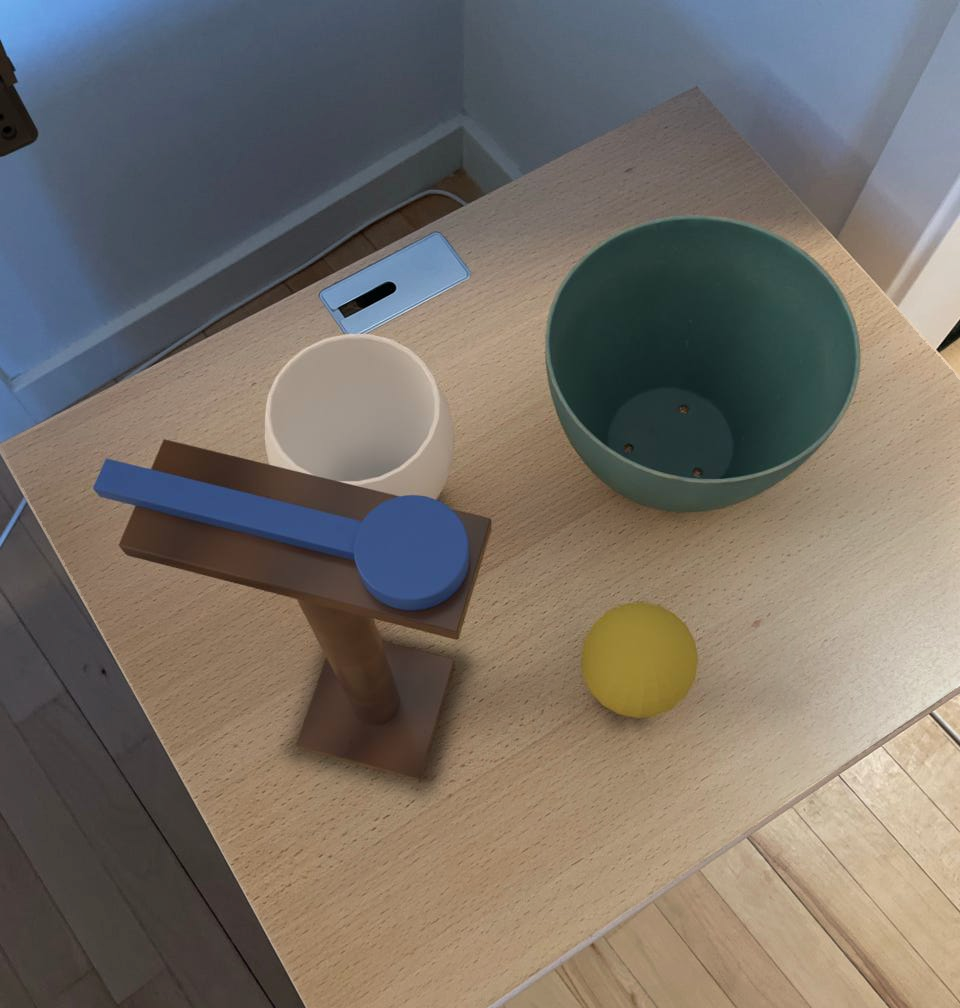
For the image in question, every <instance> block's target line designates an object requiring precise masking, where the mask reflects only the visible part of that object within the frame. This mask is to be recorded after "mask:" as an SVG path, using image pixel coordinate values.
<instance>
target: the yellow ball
mask: <svg viewBox="0 0 960 1008" xmlns="http://www.w3.org/2000/svg"><path fill="white" fill-rule="evenodd" d="M580 664H581V671H582V678H583V680H584V682H585V683H586V686H587V688H588V690H589V692H590V694H592V696H593V697H594V698H595V699H596V700H597V701H598V702H599V703H600V704H601V705H602V706H603V707H605V708H607V709H609V710H611V711H613V712H614V713H616V714H618V715H620V716H625V717H631V718H636V719H643V718H644V719H645V718H653V717H657V716H659V715H662V714H664V713H666V712H668V711H671V710H673V709H674V708H675V707H676V706H677V705H678V704H679V703H680V702H682V701H683V700H684V699H685V697H687V696H688V694H689V692H690V690H691V688H692V687H693V684H694V682H695V681H696V679H697V672H698V667H699V655H698V649H697V645H696V640H695V637H694V636H693V634H692V633H691V631H690V629H689V627H688V625H687V624H686V623H685V622H684V621H683V620H682V619H681V618H680V617H679V616H678V615H677V614H675V613H674V612H672V611H670V610H669V609H666V608H665V607H663V606H661V605H659V604H654V603H648V602H642V601H639V602H629V603H623V604H621V605H619V606H616V607H613V608H611V609H609V610H607V611H606V612H605V613H604V614H603V615H601V616H600V617H599V618H598V619H597V620H596V621H595V622H593V624H592V626H591V627H590V629H589V631H588V632H587V634H586V635H585V637H584V640H583V644H582V648H581V654H580Z"/></svg>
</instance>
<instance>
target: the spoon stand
mask: <svg viewBox="0 0 960 1008" xmlns="http://www.w3.org/2000/svg"><path fill="white" fill-rule="evenodd" d="M150 469H151V470H155V471H159V472H164V473H168V474H172V475H176V476H180V477H184V478H188V479H192V480H196V481H200V482H204V483H208V484H212V485H216V486H220V487H224V488H229V489H233V490H237V491H241V492H245V493H249V494H253V495H257V496H261V497H265V498H269V499H273V500H277V501H281V502H285V503H289V504H294V505H298V506H302V507H306V508H310V509H314V510H318V511H322V512H326V513H330V514H334V515H338V516H342V517H346V518H350V519H354V520H359V521H363V520H364V519H365V517H366V516H367V515H368V514H369V513H370V512H371V511H372V510H373V509H374V508H376V507H377V506H378V505H380V504H382V503H383V502H385V501H387V500H390V499H392V498H396V497H400V496H396V495H392V494H388V493H384V492H380V491H376V490H372V489H368V488H364V487H359V486H355V485H351V484H347V483H343V482H339V481H335V480H331V479H326V478H322V477H318V476H314V475H310V474H306V473H302V472H298V471H293V470H289V469H285V468H281V467H277V466H273V465H270V464H269V463H264V462H260V461H256V460H251V459H247V458H244V457H238V456H236V455H232V454H228V453H223V452H219V451H214V450H211V449H207V448H202V447H198V446H194V445H190V444H186V443H181V442H178V441H174V440H169V439H164V438H163V439H162V442H161V445H160V446H159V449H158V452H157V454H156V456H155V458H154V461H153V463H152V465H151V468H150ZM451 509H452V510H453V511H454V512H455V513H456V514H457V515H458V517H459V518H460V519H461V521H462V523H463V525H464V527H465V529H466V532H467V536H468V541H469V557H470V558H469V567H468V571H467V574H466V576H465V579H464V581H463V582H462V584H461V586H460V587H459V588H458V590H457V591H456V592H455V593H454V594H453V595H452V596H450V597H449V598H448V599H447V600H445V601H443V602H442V603H440V604H438V605H436V606H434V607H430V608H427V609H422V610H401V609H396V608H393V607H390V606H388V605H386V604H384V603H382V602H381V601H379V600H377V599H376V598H375V597H374V596H373V595H372V594H371V593H370V592H369V591H368V590H367V588H366V587H365V585H364V584H363V582H362V580H361V578H360V575H359V572H358V569H357V566H356V563H355V561H354V560H350V559H346V558H342V557H338V556H334V555H330V554H326V553H322V552H318V551H314V550H310V549H306V548H302V547H298V546H294V545H290V544H286V543H282V542H278V541H274V540H270V539H266V538H262V537H258V536H254V535H250V534H246V533H242V532H238V531H234V530H230V529H226V528H222V527H218V526H214V525H210V524H206V523H202V522H198V521H194V520H190V519H186V518H182V517H178V516H174V515H170V514H166V513H162V512H158V511H154V510H150V509H146V508H142V507H138V506H134V508H133V510H132V511H131V515H130V518H129V519H128V521H127V524H126V526H125V528H124V531H123V533H122V536H121V538H120V540H119V543H118V547H119V548H120V549H121V550H122V552H123V553H124V554H125V555H126V556H127V557H130V558H135V559H139V560H143V561H147V562H151V563H155V564H159V565H163V566H167V567H171V568H175V569H178V570H181V571H186V572H190V573H194V574H197V575H201V576H206V577H208V578H213V579H217V580H221V581H224V582H229V583H233V584H237V585H241V586H244V587H248V588H252V589H256V590H259V591H264V592H268V593H272V594H275V595H280V596H284V597H288V598H291V599H295V600H296V601H297V603H298V605H299V607H300V609H301V611H302V613H303V615H304V617H305V619H306V620H307V622H308V624H309V626H310V628H311V630H312V632H313V634H314V636H315V638H316V640H317V642H318V644H319V646H320V648H321V650H322V652H323V653H324V656H325V659H324V661H323V665H322V667H321V670H320V674H319V676H318V679H317V683H316V685H315V688H314V691H313V693H312V697H311V699H310V703H309V705H308V709H307V711H306V715H305V718H304V721H303V724H302V726H301V729H300V732H299V735H298V738H297V741H296V744H295V745H296V747H297V748H298V750H302V751H304V752H305V751H306V752H309V753H312V754H316V755H320V756H324V757H326V758H331V759H333V760H334V759H335V760H338V761H342V762H345V763H349V764H353V765H356V766H360V767H364V768H368V769H372V770H374V771H379V772H382V773H385V774H390V775H393V776H397V777H399V778H400V777H401V778H405V779H408V780H411V781H415V782H422V781H421V780H422V777H423V774H424V770H425V767H426V764H427V761H428V757H429V754H430V750H431V748H432V743H433V740H434V737H435V733H436V730H437V726H438V723H439V720H440V717H441V713H442V710H443V707H444V703H445V700H446V698H447V697H446V696H447V693H448V691H449V687H450V684H451V679H452V677H453V674H454V669H455V666H456V661H455V658H453V657H448V656H444V655H440V654H436V653H432V652H428V651H424V650H420V649H417V648H414V647H413V648H412V647H409V646H406V645H401V644H397V643H393V642H389V641H386V640H382V639H381V636H380V633H379V630H378V627H377V624H376V620H378V621H381V622H385V623H389V624H393V625H395V626H401V627H405V628H408V629H412V630H415V631H420V632H423V633H428V634H432V635H435V636H438V637H439V636H440V637H444V638H447V639H451V640H455V641H458V640H459V639H460V636H461V632H462V629H463V626H464V624H465V619H466V617H467V616H466V615H467V613H468V609H469V606H470V603H471V599H472V596H473V593H474V589H475V586H476V584H477V583H476V582H477V579H478V576H479V573H480V569H481V566H482V563H483V559H484V556H485V552H486V549H487V547H488V546H487V545H488V542H489V539H490V536H491V533H492V518H490V517H488V516H483V515H478V514H475V513H471V512H466V511H462V510H458V509H454V508H451Z"/></svg>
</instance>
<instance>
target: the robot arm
mask: <svg viewBox="0 0 960 1008" xmlns="http://www.w3.org/2000/svg"><path fill="white" fill-rule="evenodd" d="M16 71H17V69H16V67H15V65H14V64H13V62H12V60H11V59H10V57H9V56H8V54H7V52H6V49H5V47H4V44H3V42H2V40H1V39H0V158H4V157H6V156H8V155H10V154H12V153H14V152H16V151H19V150H21V149H23V148H26V147H27V146H30V145H32V144H34V143H35V142H37V140H38V137H39V130H38V128H37V126H36V124H35V122H34V120H33V119H32V116H31V115H30V113H29V110H28V109H27V107H26V106H25V104H24V102H23V99H22V98H21V96H20V94H19V92H18V91H17V88H16V87H15V85H16V84H17V83H19V81H18V79H17V76H16V74H15V72H16Z"/></svg>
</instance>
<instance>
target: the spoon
mask: <svg viewBox="0 0 960 1008" xmlns="http://www.w3.org/2000/svg"><path fill="white" fill-rule="evenodd" d="M92 489H93V490H94V492H95V493H96V494H97V495H98V497H100V498H103V499H107V500H111V501H115V502H119V503H122V504H128V505H131V506H134V507H135V506H138V507H142V508H146V509H150V510H154V511H158V512H162V513H166V514H170V515H174V516H178V517H182V518H186V519H190V520H194V521H198V522H202V523H206V524H210V525H214V526H218V527H222V528H226V529H230V530H234V531H238V532H242V533H246V534H250V535H254V536H258V537H262V538H266V539H270V540H274V541H278V542H282V543H286V544H290V545H294V546H298V547H302V548H306V549H310V550H314V551H318V552H322V553H326V554H330V555H334V556H338V557H342V558H346V559H350V560H354V561H355V563H356V566H357V569H358V572H359V575H360V578H361V580H362V582H363V584H364V585H365V587H366V588H367V590H368V591H369V592H370V593H371V594H372V595H373V596H374V597H375V598H376V599H377V600H379V601H381V602H382V603H384V604H386V605H388V606H390V607H393V608H396V609H401V610H422V609H427V608H430V607H434V606H436V605H438V604H440V603H442V602H443V601H445V600H447V599H448V598H449V597H450V596H452V595H453V594H454V593H455V592H456V591H457V590H458V588H459V587H460V586H461V584H462V582H463V581H464V579H465V576H466V574H467V571H468V567H469V558H470V557H469V541H468V536H467V532H466V529H465V527H464V525H463V523H462V521H461V519H460V518H459V517H458V515H457V514H456V513H455V512H454V511H453V510H452V509H453V508H452V507H451V508H450V507H449V505H447V504H445V503H443V502H442V501H440V500H437V499H436V500H435V499H433V498H430V497H426V496H420V495H405V496H400V497H396V498H392V499H390V500H387V501H385V502H383V503H382V504H380V505H378V506H377V507H376V508H374V509H373V510H372V511H371V512H370V513H369V514H368V515H367V516H366V517H365V519H364V520H363V521H359V520H354V519H350V518H346V517H342V516H338V515H334V514H330V513H326V512H322V511H318V510H314V509H310V508H306V507H302V506H298V505H294V504H289V503H285V502H281V501H277V500H273V499H269V498H265V497H261V496H257V495H253V494H249V493H245V492H241V491H237V490H233V489H229V488H224V487H220V486H216V485H212V484H208V483H204V482H200V481H196V480H192V479H188V478H184V477H180V476H176V475H172V474H168V473H164V472H159V471H155V470H151V468H148V467H143V466H139V465H135V464H130V463H127V462H124V461H123V462H122V461H119V460H115V459H111V458H105V460H104V462H103V464H102V466H101V469H100V471H99V473H98V474H97V478H96V480H95V482H94V484H93V487H92Z"/></svg>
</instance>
